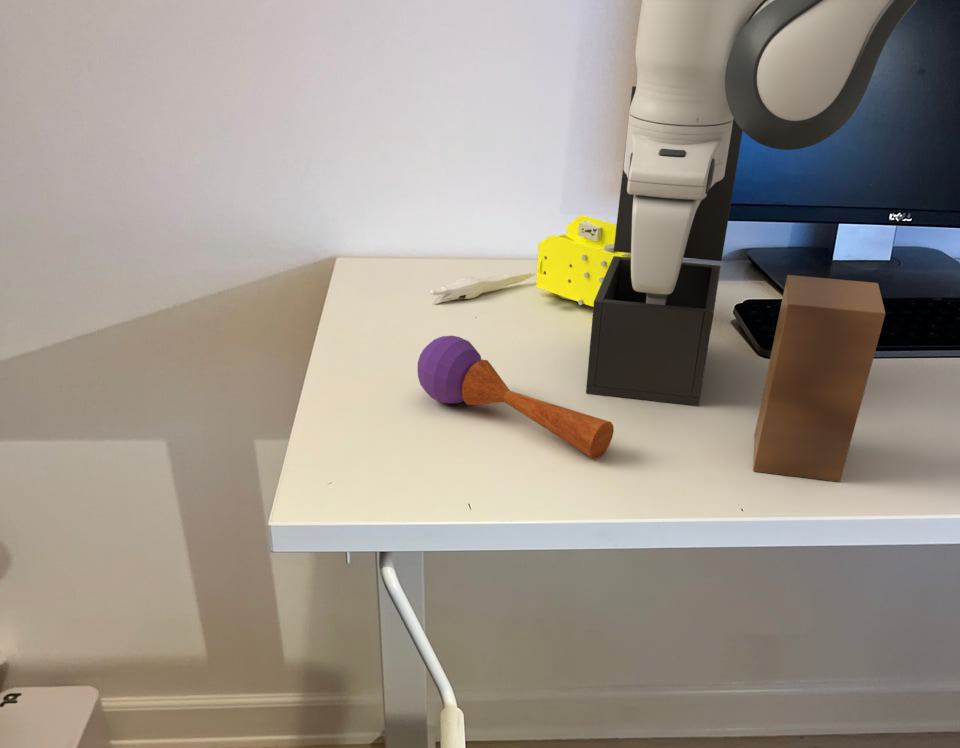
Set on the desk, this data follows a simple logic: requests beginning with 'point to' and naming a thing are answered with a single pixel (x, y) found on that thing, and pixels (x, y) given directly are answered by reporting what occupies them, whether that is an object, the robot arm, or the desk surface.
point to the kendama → (502, 394)
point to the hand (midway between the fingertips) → (655, 310)
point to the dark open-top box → (651, 336)
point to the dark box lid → (709, 214)
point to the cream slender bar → (476, 286)
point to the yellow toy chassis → (577, 259)
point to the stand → (817, 376)
